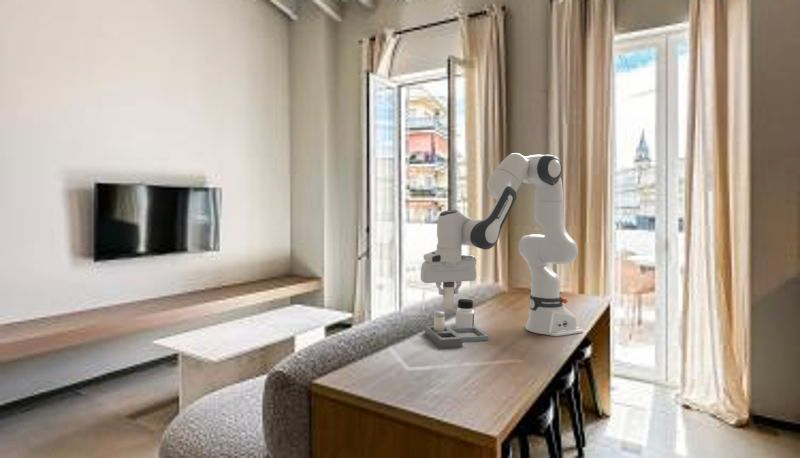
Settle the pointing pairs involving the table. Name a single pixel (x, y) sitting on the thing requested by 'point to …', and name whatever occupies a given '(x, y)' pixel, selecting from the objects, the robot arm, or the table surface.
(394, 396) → the table surface
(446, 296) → the cylinder
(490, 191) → the robot arm
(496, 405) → the table surface
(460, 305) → the medicine bottle
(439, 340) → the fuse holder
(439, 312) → the dome-capped cream cylinder
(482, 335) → the parts tray
